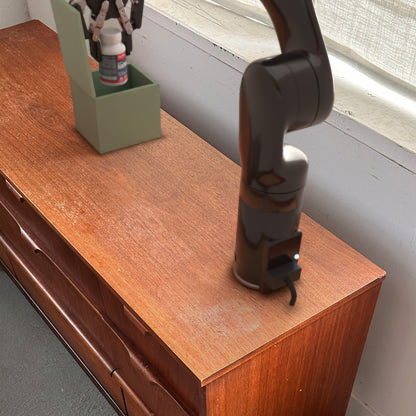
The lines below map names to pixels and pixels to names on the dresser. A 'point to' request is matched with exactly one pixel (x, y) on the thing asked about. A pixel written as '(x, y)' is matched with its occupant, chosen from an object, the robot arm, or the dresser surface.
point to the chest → (118, 111)
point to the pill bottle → (112, 58)
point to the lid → (73, 44)
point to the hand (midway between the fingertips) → (112, 56)
